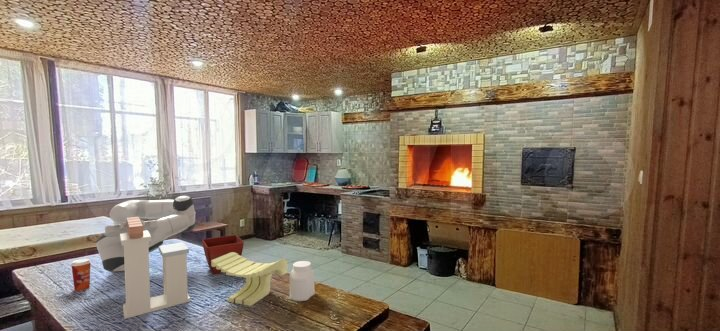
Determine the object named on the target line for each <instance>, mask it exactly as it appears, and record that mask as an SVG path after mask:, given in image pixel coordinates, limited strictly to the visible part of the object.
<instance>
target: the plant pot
mask: <svg viewBox="0 0 720 331" xmlns="http://www.w3.org/2000/svg"><path fill="white" fill-rule="evenodd" d="M201 241H202V242H201V243H202V248H203V251H204V255H205V260H206V262H207V265H208V267H209V270H210V272H211V274H212V275H213V276H215V275H218V274H225V273H226V272H221V269H220V270H218V269H216V267H212V266H211V260H213V259H216V258H218V257H221V256H223V255H226V254H228V253H231V252H235V253H238V255H240V256H243V251H244V244H245V242H244V240H243V239H241V237H239V236H238V235H237V234H231V235H225V236H224V235H223V236H217V237H210V238H204V239H203V238H202V240H201Z"/></svg>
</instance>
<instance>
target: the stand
mask: <svg viewBox="0 0 720 331" xmlns="http://www.w3.org/2000/svg"><path fill="white" fill-rule="evenodd" d="M120 240H121V246H122V245H124V266H125V271H124V286H125V287H124V291H125V303H124V304H122V311H123V319H124V320H125V319H130V318H133V317H136V316H140V315H145V314H149V313H152V312H155V311H159V310H164V309H167V308H171V307H175V306H179V305H182V304H185V303H189V302H191V296H190V295H189V293H188V291H189V290H188V262H187V260H188V259H187V258H188V256H187V254H189V253H190V248H189V247H188V246H187V245H186V243H185V242H184V241H182V242H180V241H179V242H176V243H169V244H162V245H161V246H159V247H158V251H159V253H160V255H161V257H162V280H163V281H162V282H163V294H160V295H156V296H151V285H150V284H151V281H150V256H149V255H150V253H149V245H148V242H149V241H151V235H150V234H149V232H148V230H146V231H143V237H137V238H130V237H129V234H128V233H123V234H120Z"/></svg>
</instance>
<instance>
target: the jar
mask: <svg viewBox="0 0 720 331" xmlns="http://www.w3.org/2000/svg"><path fill="white" fill-rule="evenodd" d="M288 277H289V298H290V299H291V300H293V301H295V302H305V301H308V300H309V299H310V298H311V297H313V296H314V295H315V294H316V293H315V292H316V291H315V272H314V270H313V268H312V262H310V261H308V260H299V261H295V262H294V263H293V264H292V270H291V271H290V274H289V276H288Z"/></svg>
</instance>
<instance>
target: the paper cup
mask: <svg viewBox="0 0 720 331" xmlns="http://www.w3.org/2000/svg"><path fill="white" fill-rule="evenodd" d="M91 263H92V260H91V259H90V258H80V259H76V260H73V261H71V264H70V267H71V271H72V282H73V289H74V291H76V292H80V291H85V290H88V289H89V288H90V287H91V286H90V285H91V284H90V283H91Z"/></svg>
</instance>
